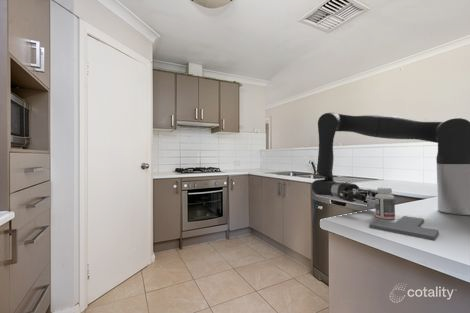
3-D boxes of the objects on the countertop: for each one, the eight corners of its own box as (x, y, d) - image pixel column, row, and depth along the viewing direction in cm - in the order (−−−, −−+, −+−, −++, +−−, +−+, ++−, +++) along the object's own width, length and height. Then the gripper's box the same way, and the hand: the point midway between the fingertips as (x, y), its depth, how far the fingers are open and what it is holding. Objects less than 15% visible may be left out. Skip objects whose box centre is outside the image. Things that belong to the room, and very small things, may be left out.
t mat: (387, 215, 75) (387, 213, 75) (443, 224, 65) (443, 221, 65) (369, 227, 63) (369, 224, 63) (434, 239, 53) (434, 236, 53)
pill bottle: (396, 217, 73) (395, 188, 73) (393, 220, 69) (392, 189, 70) (377, 214, 77) (377, 186, 77) (373, 217, 73) (372, 188, 73)
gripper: (329, 182, 92) (357, 187, 76) (359, 181, 94) (393, 186, 78) (329, 200, 92) (358, 209, 76) (360, 199, 94) (393, 207, 78)
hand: (375, 197), depth 77 cm, fingers open, 8 cm apart
